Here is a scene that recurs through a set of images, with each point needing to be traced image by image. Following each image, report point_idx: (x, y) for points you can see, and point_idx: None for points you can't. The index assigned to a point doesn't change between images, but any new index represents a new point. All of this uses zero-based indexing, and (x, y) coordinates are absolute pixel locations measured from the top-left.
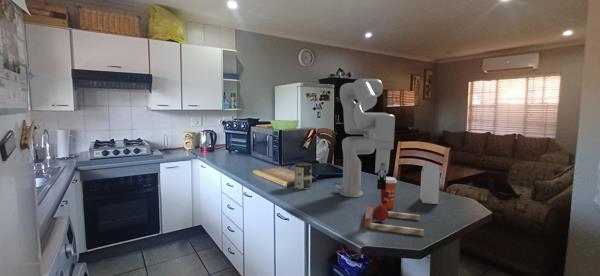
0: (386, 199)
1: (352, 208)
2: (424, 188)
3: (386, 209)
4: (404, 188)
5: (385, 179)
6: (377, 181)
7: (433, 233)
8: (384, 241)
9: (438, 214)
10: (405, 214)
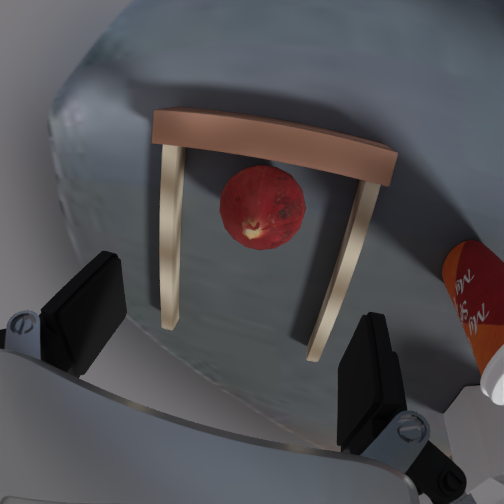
0: (462, 282)
1: (449, 75)
2: (476, 430)
3: (245, 246)
4: None
5: (338, 393)
6: (57, 293)
7: (197, 347)
8: (86, 182)
9: None
10: (321, 319)
